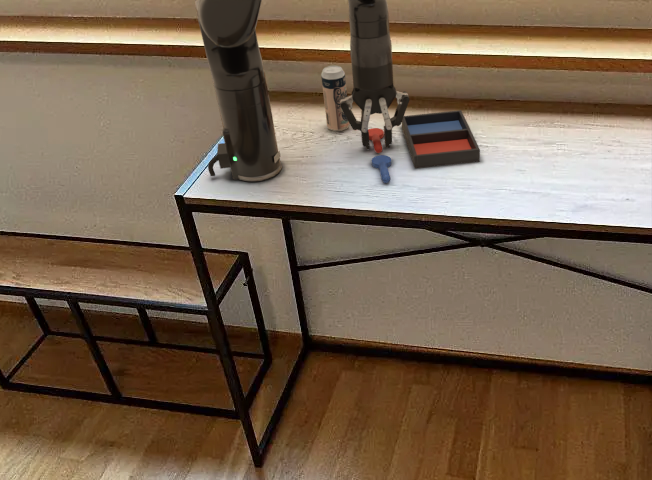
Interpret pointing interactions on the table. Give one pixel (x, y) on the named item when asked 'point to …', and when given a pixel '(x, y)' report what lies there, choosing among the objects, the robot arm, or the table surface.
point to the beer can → (334, 97)
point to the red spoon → (376, 138)
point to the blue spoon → (382, 166)
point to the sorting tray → (439, 139)
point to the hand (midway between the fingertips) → (377, 146)
